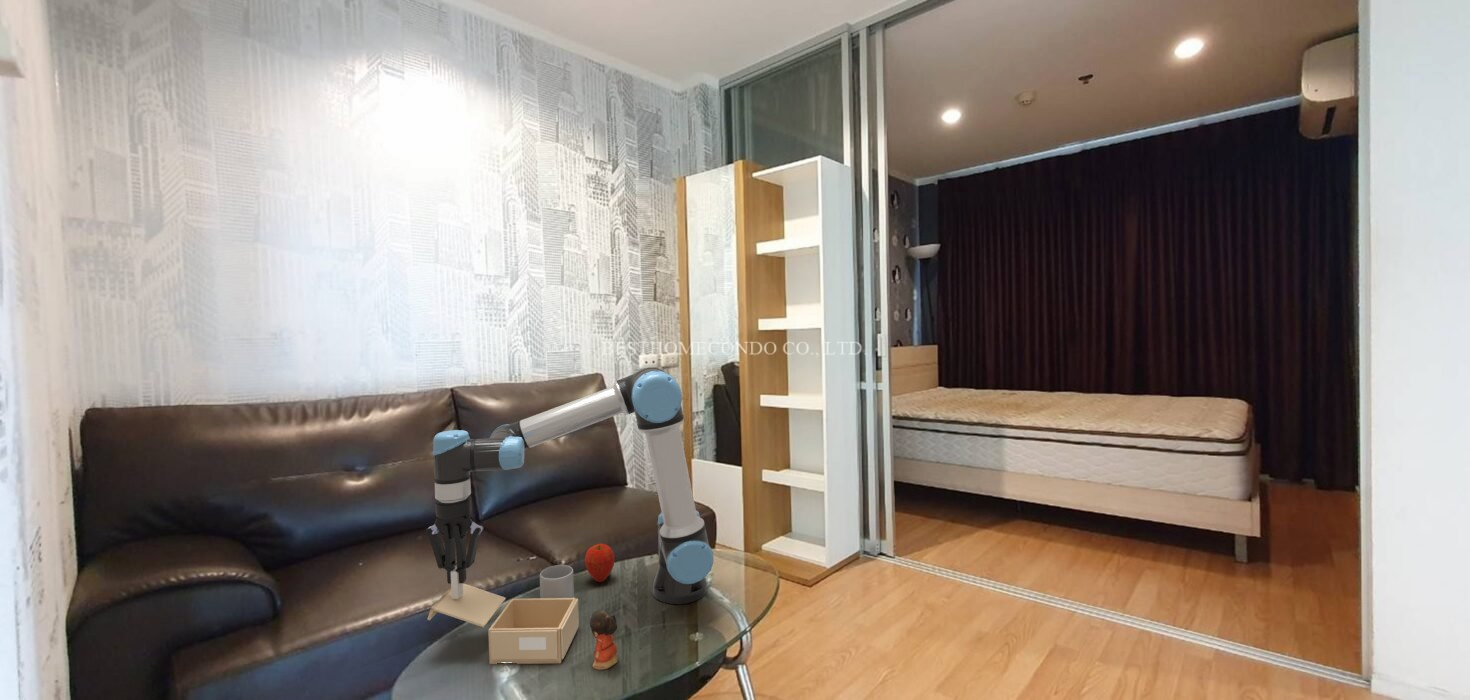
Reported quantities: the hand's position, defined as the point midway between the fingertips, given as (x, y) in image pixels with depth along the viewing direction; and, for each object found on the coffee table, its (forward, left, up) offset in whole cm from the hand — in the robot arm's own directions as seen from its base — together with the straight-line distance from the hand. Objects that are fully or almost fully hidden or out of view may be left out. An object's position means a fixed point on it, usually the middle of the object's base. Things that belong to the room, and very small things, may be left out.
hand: (457, 595), depth 137 cm
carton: (-18, 0, -12) cm, 22 cm away
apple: (-26, -33, -13) cm, 44 cm away
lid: (-3, 0, -2) cm, 3 cm away
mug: (-18, -17, -13) cm, 28 cm away
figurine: (-36, +7, -13) cm, 39 cm away
